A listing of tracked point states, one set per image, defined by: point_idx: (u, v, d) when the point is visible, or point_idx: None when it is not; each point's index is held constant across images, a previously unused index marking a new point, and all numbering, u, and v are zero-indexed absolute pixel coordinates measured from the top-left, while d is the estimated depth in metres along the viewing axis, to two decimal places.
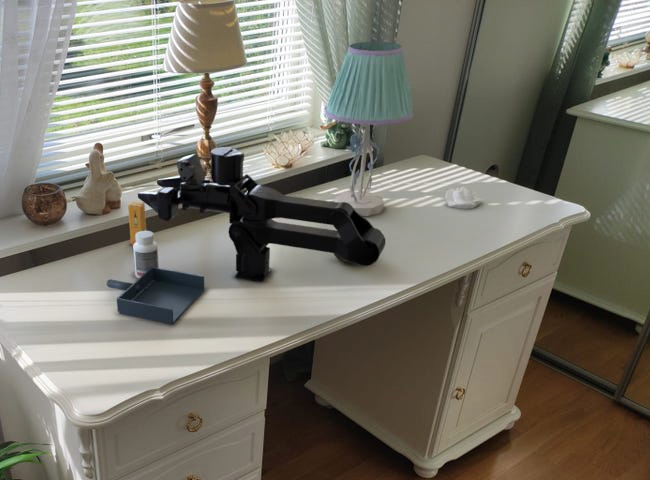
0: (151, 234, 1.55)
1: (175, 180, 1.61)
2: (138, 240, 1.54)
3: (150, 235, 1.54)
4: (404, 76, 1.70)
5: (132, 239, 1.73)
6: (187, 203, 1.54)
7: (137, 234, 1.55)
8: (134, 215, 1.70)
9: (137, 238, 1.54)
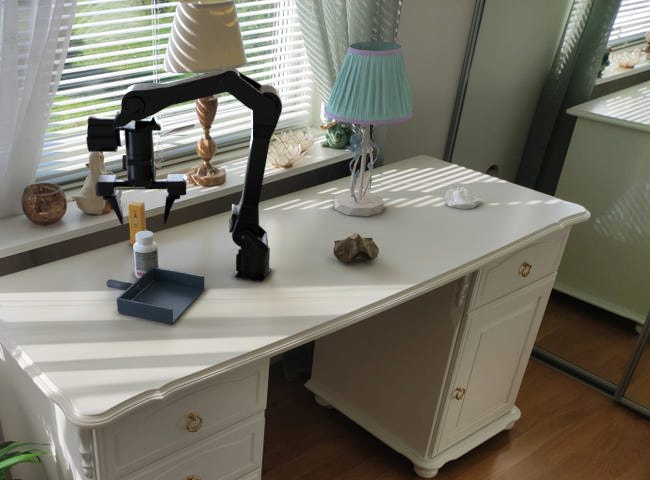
0: (151, 234, 1.55)
1: None
2: (138, 240, 1.54)
3: (150, 235, 1.54)
4: (404, 76, 1.70)
5: (132, 239, 1.73)
6: (127, 176, 1.47)
7: (137, 234, 1.55)
8: (134, 215, 1.70)
9: (137, 238, 1.54)
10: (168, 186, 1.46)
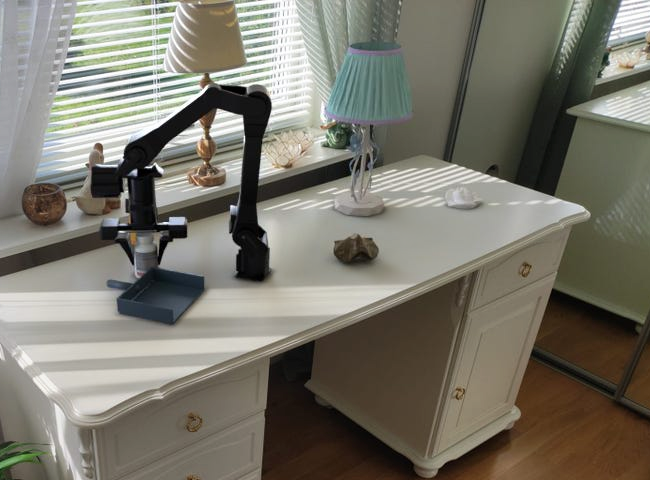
0: (151, 234, 1.55)
1: None
2: (138, 240, 1.54)
3: (150, 235, 1.54)
4: (404, 76, 1.70)
5: (132, 239, 1.73)
6: (130, 220, 1.52)
7: (137, 234, 1.55)
8: None
9: (137, 238, 1.54)
10: (170, 230, 1.51)
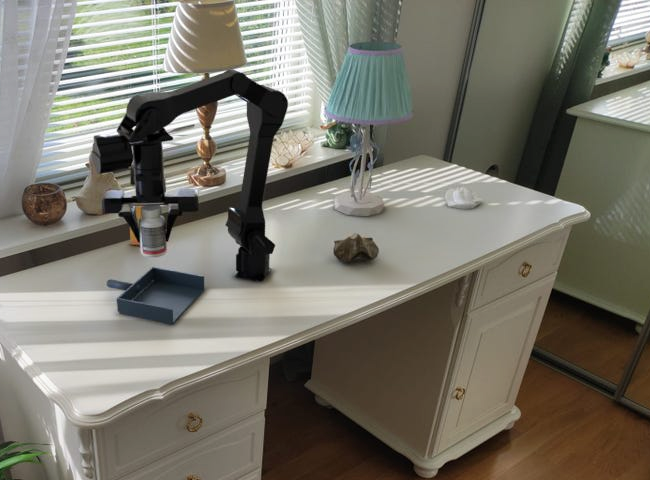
0: (158, 207, 1.41)
1: None
2: (144, 214, 1.41)
3: (157, 208, 1.41)
4: (404, 76, 1.70)
5: (132, 239, 1.73)
6: (136, 192, 1.39)
7: (143, 207, 1.41)
8: None
9: (143, 212, 1.41)
10: (179, 202, 1.38)
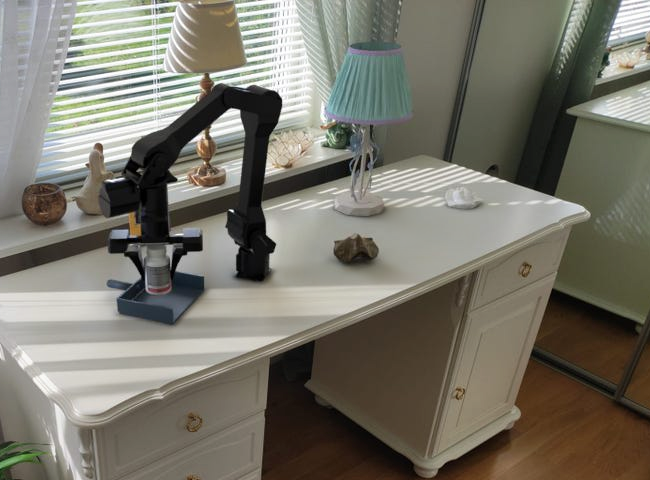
0: (163, 247, 1.43)
1: None
2: (149, 253, 1.42)
3: (162, 248, 1.42)
4: (404, 76, 1.70)
5: None
6: (141, 232, 1.40)
7: (148, 247, 1.43)
8: (134, 215, 1.70)
9: (148, 251, 1.42)
10: (184, 242, 1.40)
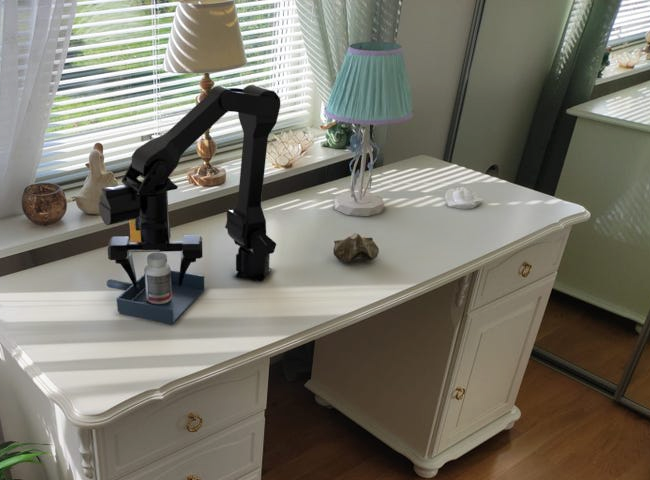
0: (164, 256, 1.44)
1: (180, 264, 1.46)
2: (150, 263, 1.44)
3: (163, 257, 1.44)
4: (404, 76, 1.70)
5: (132, 239, 1.73)
6: (141, 239, 1.41)
7: (149, 256, 1.44)
8: None
9: (149, 261, 1.44)
10: (183, 249, 1.40)
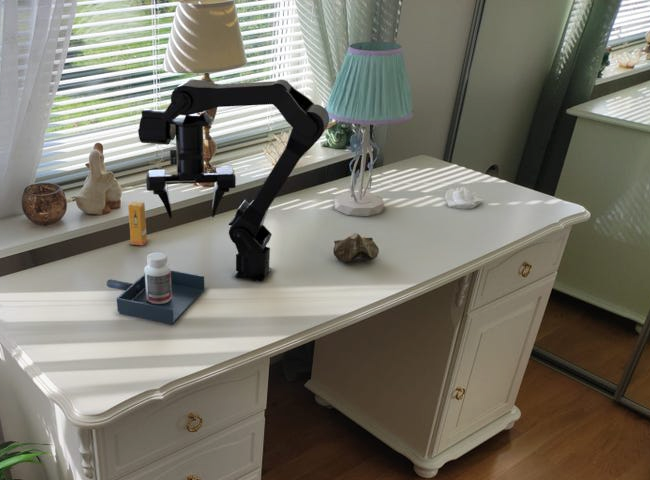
0: (164, 256, 1.44)
1: (213, 195, 1.55)
2: (150, 263, 1.44)
3: (163, 257, 1.44)
4: (404, 76, 1.70)
5: (132, 239, 1.73)
6: (177, 170, 1.50)
7: (149, 256, 1.44)
8: (134, 215, 1.70)
9: (149, 261, 1.44)
10: (218, 179, 1.49)
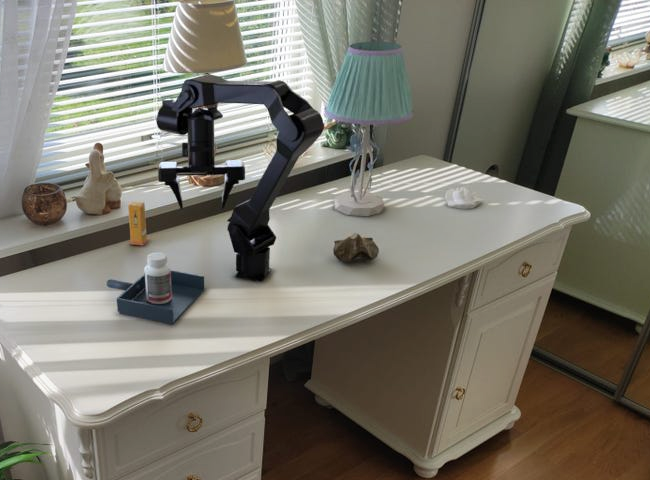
0: (164, 256, 1.44)
1: (223, 187, 1.59)
2: (150, 263, 1.44)
3: (163, 257, 1.44)
4: (404, 76, 1.70)
5: (132, 239, 1.73)
6: (189, 162, 1.54)
7: (149, 256, 1.44)
8: (134, 215, 1.70)
9: (149, 261, 1.44)
10: (228, 171, 1.53)
